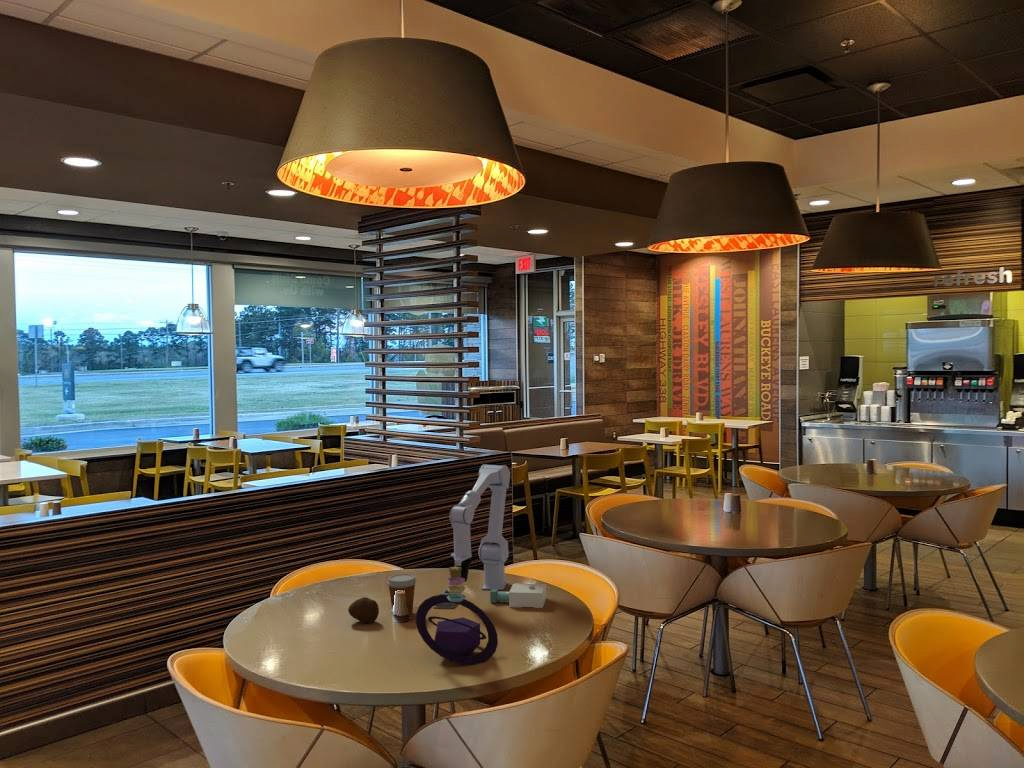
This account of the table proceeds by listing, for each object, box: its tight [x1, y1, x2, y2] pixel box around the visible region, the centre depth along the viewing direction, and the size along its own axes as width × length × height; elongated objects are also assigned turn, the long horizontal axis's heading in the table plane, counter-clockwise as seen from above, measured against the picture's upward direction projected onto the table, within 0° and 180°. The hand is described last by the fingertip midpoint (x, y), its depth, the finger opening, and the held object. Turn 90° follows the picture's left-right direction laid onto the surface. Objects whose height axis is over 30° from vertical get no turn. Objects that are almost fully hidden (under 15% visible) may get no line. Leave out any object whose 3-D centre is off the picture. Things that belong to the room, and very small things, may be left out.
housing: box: [508, 582, 547, 609], centre depth 268 cm, size 10×11×6 cm
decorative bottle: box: [415, 566, 499, 666], centre depth 223 cm, size 22×21×25 cm
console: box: [432, 588, 461, 610], centre depth 272 cm, size 15×7×2 cm, turn 171°
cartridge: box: [489, 589, 509, 604], centre depth 269 cm, size 3×15×4 cm, turn 81°
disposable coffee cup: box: [386, 573, 417, 616], centre depth 260 cm, size 10×10×12 cm
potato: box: [347, 596, 380, 624], centre depth 253 cm, size 7×10×8 cm
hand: (463, 581), depth 269 cm, fingers closed
